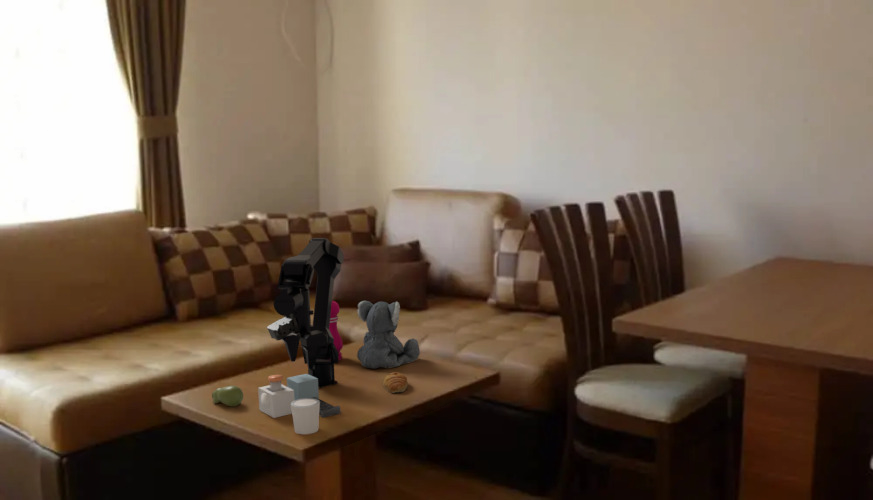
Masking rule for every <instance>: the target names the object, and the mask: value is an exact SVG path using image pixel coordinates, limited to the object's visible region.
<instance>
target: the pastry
mask: <svg viewBox="0 0 873 500" xmlns="http://www.w3.org/2000/svg"><path fill="white" fill-rule="evenodd" d="M408 384H409V382H408V378H407V376H405V374H402V373H400V372H399V371H394V372H391V373H388V374H387V375H385V377H384V380H383V383H382V385H383V388H384V389H385V391H387V392H388V393H391V394H395V393H404V391H405V390H407V389H408Z"/></svg>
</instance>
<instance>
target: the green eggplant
mask: <svg viewBox="0 0 873 500" xmlns="http://www.w3.org/2000/svg"><path fill="white" fill-rule="evenodd" d="M211 397H212V401H213V404H218V403H222V404H224V405H226V406H228V407H236V406H238V405H240V404H241V403H242V402H243V400H244V393H243V390H242V388H241V387H239V386H237V385H227V386H224V387H223V386H222V387H218V388H216V389H215V390H213V392H212V393H211Z"/></svg>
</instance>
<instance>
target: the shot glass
mask: <svg viewBox="0 0 873 500" xmlns="http://www.w3.org/2000/svg"><path fill="white" fill-rule="evenodd" d="M291 408H292V414H291V415H292V421H293V427H294V428H293V429H294V432H295V433H296V434H298V435H312V434H315V433H317V432H318V431H319V424H320V421H319V420H320V415H319V408H320V402H319V400H317V399H312V398H304V399H298V400H295V401H293V402H292V403H291Z"/></svg>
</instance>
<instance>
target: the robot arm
mask: <svg viewBox="0 0 873 500" xmlns="http://www.w3.org/2000/svg"><path fill="white" fill-rule="evenodd" d="M344 257H345V256H344V252H343V250H342V249H341V248H340V246H338V245H336V244H334V243H332V242H331V241H330V240H329V239H328V238H326V237H313V238H310V239H309V240H308V244H306V246H305V247H304V248H303V249H302V250H301V251H300V253H299V254H297V255H295V256H291V257H288V258H286V259H285V260H284V261H283V263H282V264H281V266H280V272H279V276H278V277H279V278H278V281H277V288H278V289H280V290H279V291H280V293H279V294H278V295H277V296H275V298H274V300H273V309H274V310H275V313H277V314H278V315H280V316H283V317H282V318H280V319H278V320H276V321H274V322H272V323H271V324H269V325H268V326H266V327H267V331H268V333H269V336H270V338H271V339H274V340H276V341H282V342H283V344H284V345H285V348H286V351H287V353H288V354H287V355H288V357H289V359H290V361H291V362H296V360H297V359H296V358H297V355H298V350H299V346H300V347H301V348H302V349H301V350H302V356H303V362H304V364H305V365H307V369H308V370H307V372H308V373H307V374H309V375H311V376H313V377H316V378H318V389H319V388H324V387H328V386H333V385H337V384H338V383H339V382H338V381H337V380H335V364H339V361H338V358H339V356H338V355H339V353H338V351H337V349H336V347H335V345H334V338H333V336H332V334H331V332H330V330H329V325H330V315H331V305H332V301H333V293H334V283H335V279H336V277H337V276H338V275H339V274H340V272H341V270H342V265H343V262H344V259H345V258H344ZM314 273H315V274H316V275H317V278H316V279H317V280H316V289H315V299H314V309H311V301H310V300H311V298H310V297H311V296H310V287H311V284H312V281H313V277H314ZM311 315H313V319H312V320H311Z"/></svg>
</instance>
